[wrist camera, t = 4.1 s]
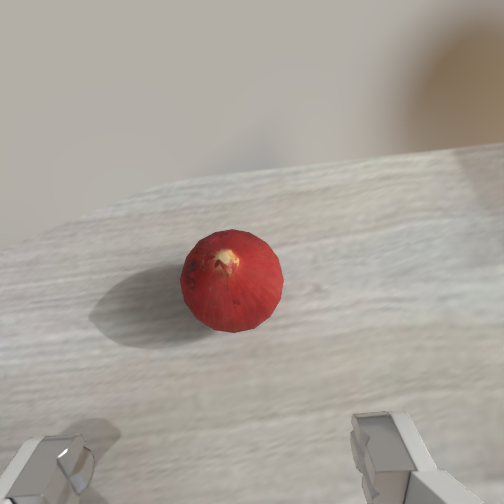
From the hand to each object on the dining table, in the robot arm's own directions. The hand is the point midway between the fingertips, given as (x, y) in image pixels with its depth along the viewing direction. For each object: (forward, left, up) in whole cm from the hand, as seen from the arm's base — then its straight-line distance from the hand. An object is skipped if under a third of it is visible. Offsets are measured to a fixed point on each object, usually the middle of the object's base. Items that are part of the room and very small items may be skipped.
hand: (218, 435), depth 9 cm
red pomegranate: (-3, +6, -11) cm, 12 cm away
